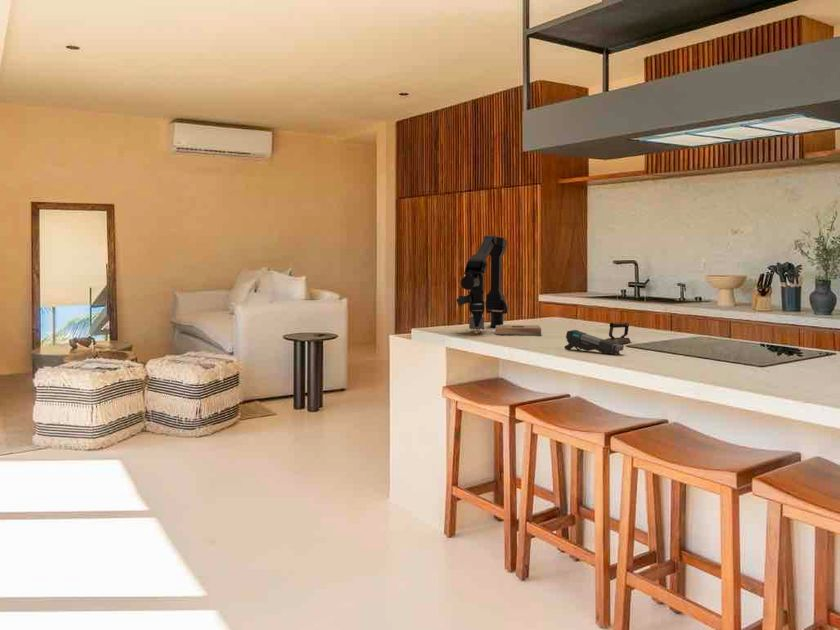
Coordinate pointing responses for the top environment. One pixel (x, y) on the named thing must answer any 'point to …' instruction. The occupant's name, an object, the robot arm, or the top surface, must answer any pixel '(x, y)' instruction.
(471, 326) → the dark grey block
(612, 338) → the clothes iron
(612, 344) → the gun
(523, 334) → the socket box
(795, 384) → the top surface
